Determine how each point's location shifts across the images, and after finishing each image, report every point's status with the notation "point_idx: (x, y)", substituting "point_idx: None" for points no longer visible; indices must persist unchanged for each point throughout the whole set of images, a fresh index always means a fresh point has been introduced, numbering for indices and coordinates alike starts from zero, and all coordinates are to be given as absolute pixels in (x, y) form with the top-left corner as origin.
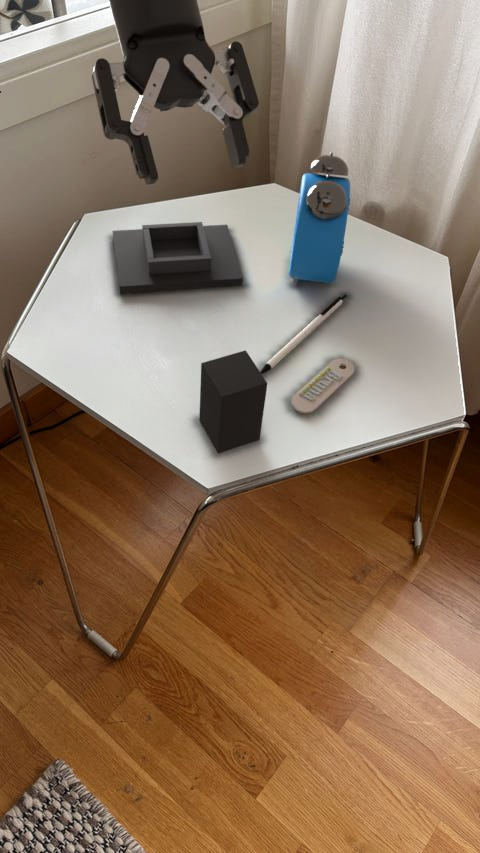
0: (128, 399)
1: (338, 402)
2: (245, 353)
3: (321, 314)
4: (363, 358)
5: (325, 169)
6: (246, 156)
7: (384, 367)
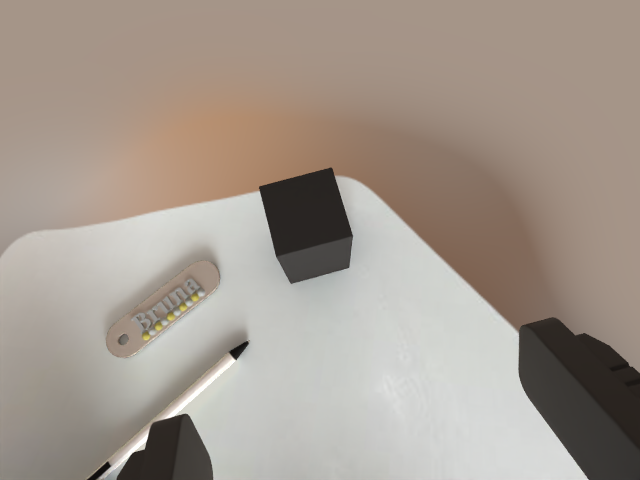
0: (443, 317)
1: (155, 277)
2: (278, 248)
3: (109, 466)
4: (84, 359)
5: None
6: (142, 454)
7: (62, 336)
